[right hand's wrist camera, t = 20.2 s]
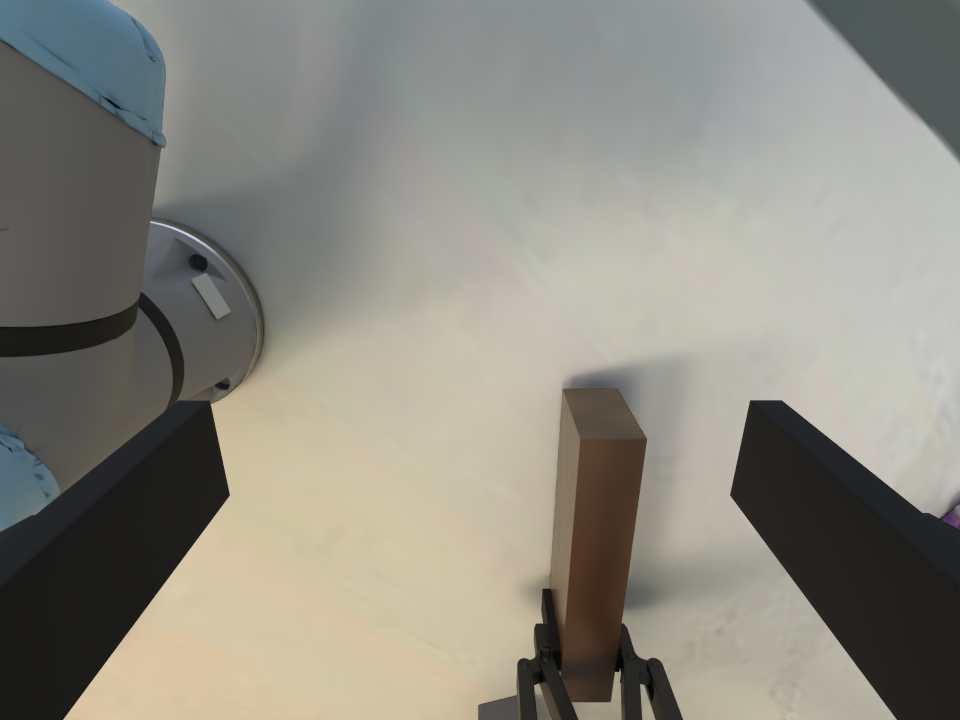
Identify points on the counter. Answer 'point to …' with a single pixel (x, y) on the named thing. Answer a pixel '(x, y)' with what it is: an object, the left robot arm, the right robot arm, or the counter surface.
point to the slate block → (499, 710)
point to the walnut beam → (593, 535)
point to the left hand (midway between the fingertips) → (572, 599)
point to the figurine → (953, 517)
